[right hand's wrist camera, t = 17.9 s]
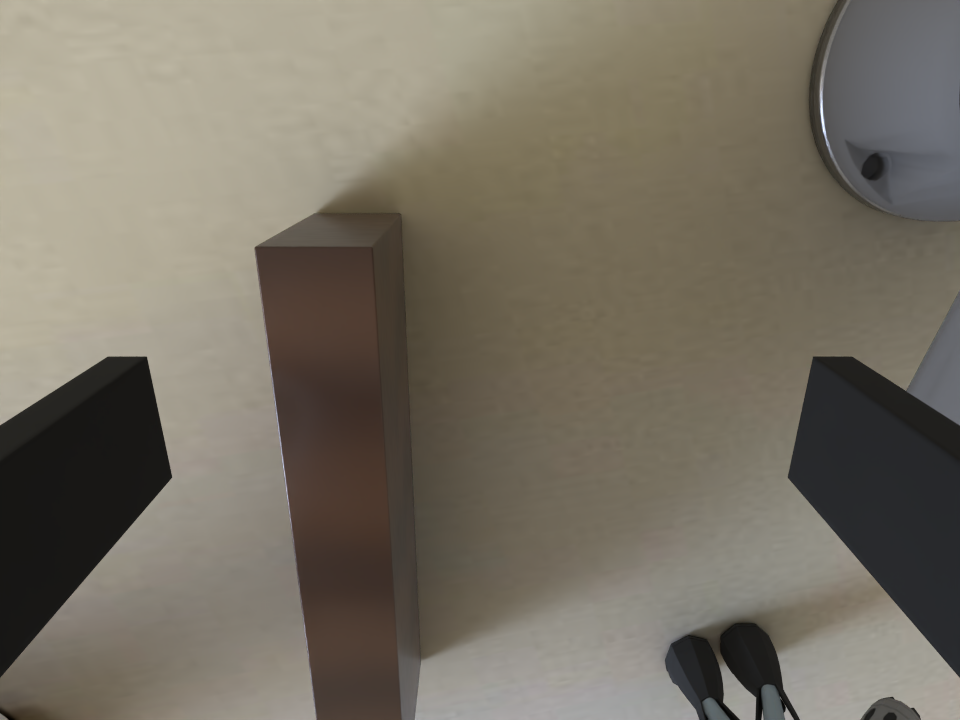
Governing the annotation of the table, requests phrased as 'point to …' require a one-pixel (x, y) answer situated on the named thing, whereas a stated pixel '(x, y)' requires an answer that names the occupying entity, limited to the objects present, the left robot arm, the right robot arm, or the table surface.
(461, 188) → the table surface
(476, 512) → the table surface
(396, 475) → the walnut box
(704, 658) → the robot
